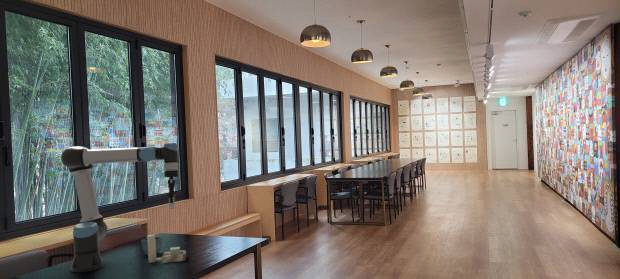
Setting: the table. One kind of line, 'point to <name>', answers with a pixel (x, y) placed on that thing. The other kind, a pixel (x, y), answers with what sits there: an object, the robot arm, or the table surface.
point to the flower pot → (157, 240)
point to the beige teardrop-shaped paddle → (152, 249)
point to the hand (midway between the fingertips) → (172, 207)
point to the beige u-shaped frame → (174, 257)
